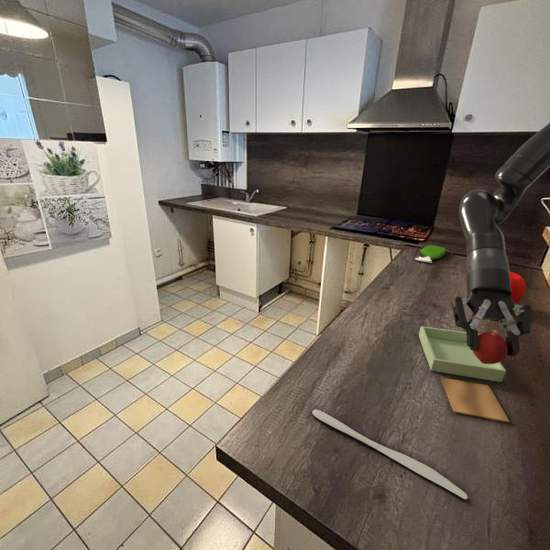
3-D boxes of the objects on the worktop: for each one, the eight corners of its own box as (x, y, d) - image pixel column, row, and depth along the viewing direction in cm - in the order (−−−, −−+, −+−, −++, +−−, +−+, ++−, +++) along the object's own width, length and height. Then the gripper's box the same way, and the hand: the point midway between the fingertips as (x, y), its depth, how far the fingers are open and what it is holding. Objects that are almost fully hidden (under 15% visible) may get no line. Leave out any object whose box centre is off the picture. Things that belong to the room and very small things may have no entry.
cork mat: (488, 386, 66) (488, 385, 66) (509, 423, 58) (509, 421, 57) (440, 378, 69) (441, 377, 68) (453, 412, 60) (454, 411, 60)
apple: (476, 296, 108) (487, 263, 103) (516, 305, 102) (529, 270, 97) (474, 309, 100) (486, 273, 94) (517, 320, 93) (533, 282, 88)
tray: (477, 343, 81) (480, 334, 80) (501, 382, 68) (506, 371, 67) (418, 335, 85) (420, 326, 83) (430, 370, 71) (433, 359, 70)
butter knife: (317, 404, 60) (310, 413, 58) (468, 487, 46) (467, 504, 44) (317, 406, 61) (310, 415, 58) (467, 490, 46) (466, 506, 44)
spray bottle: (446, 253, 155) (435, 266, 138) (425, 249, 161) (411, 261, 144) (448, 248, 154) (436, 260, 137) (426, 244, 160) (412, 255, 143)
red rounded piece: (481, 351, 63) (492, 320, 60) (507, 369, 58) (522, 335, 55) (460, 356, 61) (471, 324, 58) (486, 375, 56) (499, 341, 53)
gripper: (457, 263, 61) (460, 343, 55) (537, 270, 58) (550, 356, 52) (444, 276, 68) (445, 349, 62) (515, 283, 64) (523, 361, 58)
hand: (493, 352), depth 57 cm, fingers closed on red rounded piece, 6 cm apart
